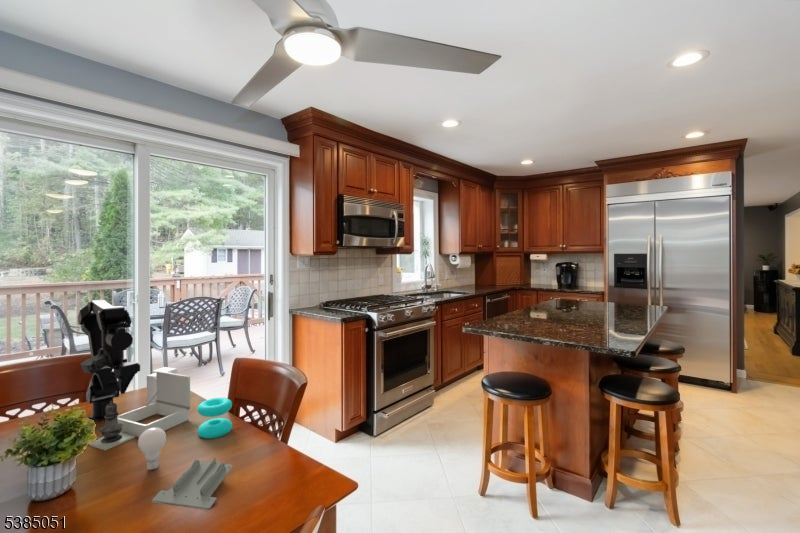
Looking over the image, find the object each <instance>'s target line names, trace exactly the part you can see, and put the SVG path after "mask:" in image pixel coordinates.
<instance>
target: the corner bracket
mask: <svg viewBox="0 0 800 533" xmlns="http://www.w3.org/2000/svg"><path fill="white" fill-rule="evenodd" d="M156 371H162V372H168V373H174V374H178V368H177V367H167V366H163V367H160V368H157V369H154V370H151V374H150V373H149V374H147V375H146V404H147V403H148V401H149V400H150V399H151V397H152V396H153V395H154V393H155V392H156V390H157V379H156ZM156 400H157V394H156V395H155V397H154V398H153V399H152V401H151V402H150V404H152V403H154V402H155V401H156Z"/></svg>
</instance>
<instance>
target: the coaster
mask: <svg viewBox="0 0 800 533" xmlns="http://www.w3.org/2000/svg"><path fill="white" fill-rule="evenodd" d="M119 435H122V438H121V439H120V440H118V441H115V442H112V443H101V440H102V439H103V438H104V437H103V436H101V437H99V438H97V439H98V440H96V439H95V440H96V441H94V440H93V441H94V442H93V443H91V444H89V445H88V446H90V447H93V448H96V449H97V448H98V449H99V450H104V451H108V450H109V449H111V448H114V447H118V445H121V444H123V443H126V442H128V441H131V440H133V439H135V438H136V436H133V435H130V434H126V433H122V432H120V433H119Z"/></svg>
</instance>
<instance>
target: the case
mask: <svg viewBox="0 0 800 533" xmlns="http://www.w3.org/2000/svg"><path fill="white" fill-rule="evenodd" d="M156 379H157V390H156V392H155V393H154V395H153V396H152V397H151V399H150V400H149V401H148V403H147V402H146V404H145V405H144V406H141V407H138V408H135V409H133V410H130V411H126V412H124V413H122V414H119V415H118V416H117V420H118V423H121V424H123V427H122V430H121V432H122V433H126V434H130V435H133V436H135V437H138V438H139V437H140V435H141V434H142V433H143V432H144V431H145V430H147V429H149V428H152V427H158V428H161V429H163V430H164V431H166V430H167V431H168V430H169V429H171V428H174V427H175V426H177V425H180V424H183V423H185V422H186V421H189V410H190V409H191V376H190V375H184V374H178V373H177V374H174V373H168V372H162V371H156ZM156 394H157V400H156V401H155V402H154V403H152V404H150V402H151V401H152V399H153V398H154V397H155V395H156ZM154 415H161V416H163V417H162V418H158V419H157V420H154V421H152V422H149V423H146V424H145V423H141V422H139V421H141V420H144V419H146V418H149V417H151V416H154Z"/></svg>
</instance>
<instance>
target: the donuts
mask: <svg viewBox="0 0 800 533" xmlns="http://www.w3.org/2000/svg"><path fill="white" fill-rule="evenodd" d="M232 407H233V402H232V400H231V399H229V398H227V397H226V398H225V397H215V398H208V399H206V400H205V401H204V400H203V401H202V402H201V403H200V404H199V405H198V406H197V412H198V414H199V415H201V416H202V417H206V418H207V417H208V418H211V419H209V420H205V421H204V422H203V423H201V424H200V425H199V427H198V428H197V433H198V436H199V437H201V438H203V439H216V438H221V437H224V436H225V435H227V434H228V433H230V432H231V430H232V428H233V423H232V421H231V420H230V419H228V418H226V417H225V418H224V417H218V416H222V415H224V414H226V413H228V412H229V411H230V410H231V409H232ZM214 417H217V418H214Z"/></svg>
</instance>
